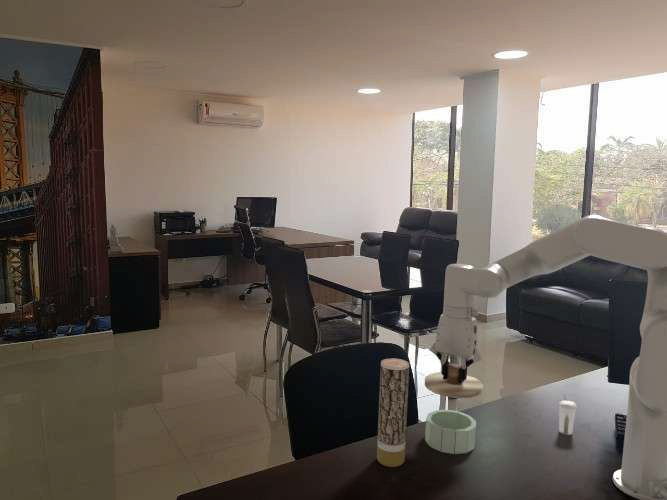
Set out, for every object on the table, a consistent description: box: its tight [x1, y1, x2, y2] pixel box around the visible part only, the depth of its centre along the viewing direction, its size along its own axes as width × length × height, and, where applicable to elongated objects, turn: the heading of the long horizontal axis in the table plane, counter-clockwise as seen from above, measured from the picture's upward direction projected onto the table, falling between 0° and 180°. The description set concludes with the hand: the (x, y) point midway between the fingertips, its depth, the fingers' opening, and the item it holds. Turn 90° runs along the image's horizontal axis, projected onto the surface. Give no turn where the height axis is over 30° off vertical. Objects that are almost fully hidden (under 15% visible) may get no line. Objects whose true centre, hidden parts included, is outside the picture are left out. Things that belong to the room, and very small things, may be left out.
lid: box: [424, 363, 484, 399], centre depth 138 cm, size 15×15×6 cm
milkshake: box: [558, 393, 578, 436], centre depth 147 cm, size 4×5×10 cm
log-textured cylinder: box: [376, 358, 410, 468], centre depth 128 cm, size 7×7×25 cm
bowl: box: [424, 409, 477, 455], centre depth 140 cm, size 13×13×6 cm
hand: (453, 379), depth 138 cm, fingers closed on lid, 3 cm apart
